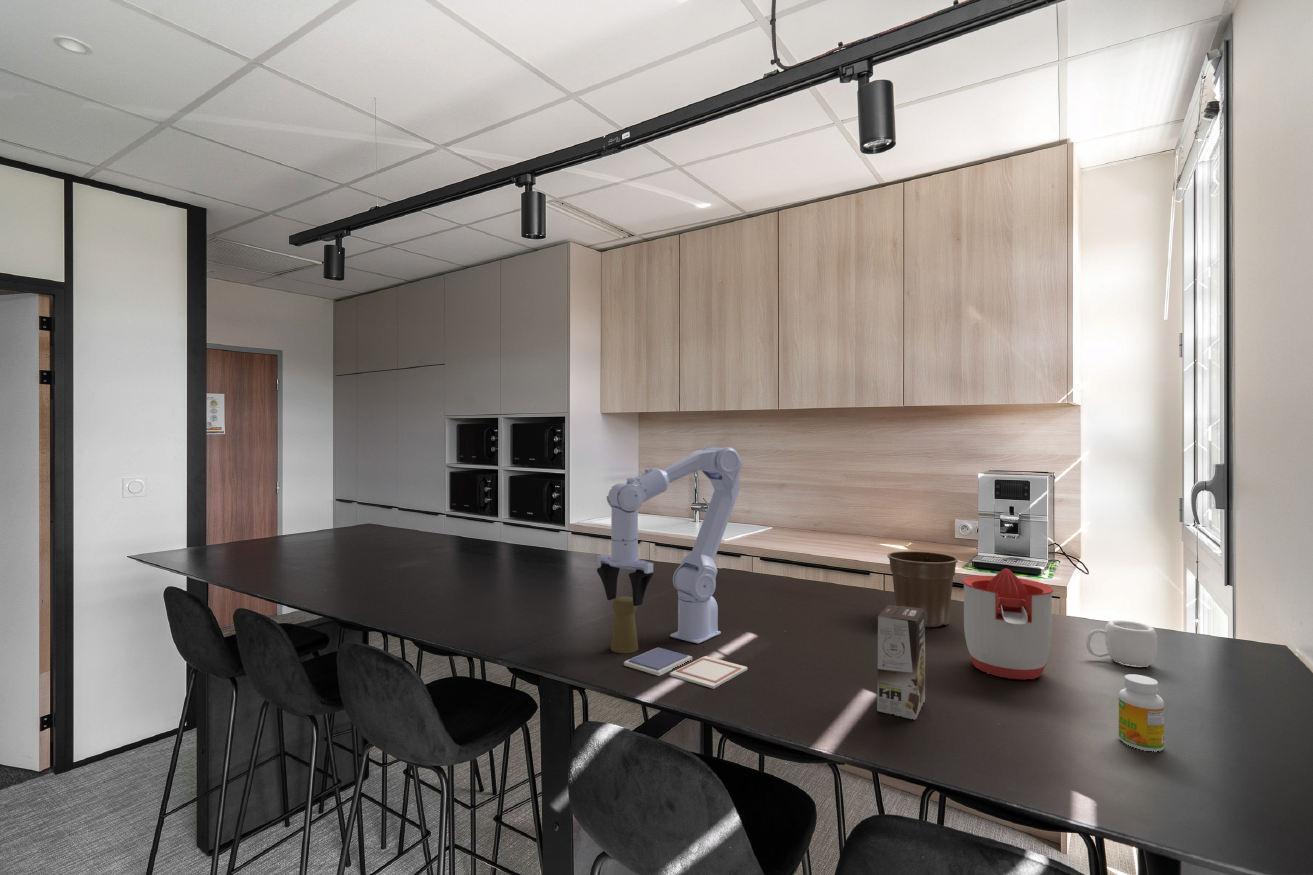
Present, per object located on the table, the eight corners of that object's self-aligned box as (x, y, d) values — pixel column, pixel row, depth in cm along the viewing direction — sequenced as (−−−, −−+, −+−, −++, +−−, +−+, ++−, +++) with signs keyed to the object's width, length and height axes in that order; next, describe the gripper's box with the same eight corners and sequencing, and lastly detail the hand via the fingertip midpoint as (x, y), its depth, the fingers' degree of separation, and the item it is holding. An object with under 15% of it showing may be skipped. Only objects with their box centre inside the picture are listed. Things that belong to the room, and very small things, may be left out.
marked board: (705, 658, 129) (705, 655, 129) (747, 669, 123) (747, 666, 123) (669, 675, 120) (669, 672, 120) (713, 688, 114) (713, 685, 114)
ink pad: (658, 650, 134) (658, 645, 134) (692, 659, 128) (692, 655, 128) (623, 665, 125) (623, 660, 125) (658, 675, 120) (658, 670, 120)
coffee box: (917, 721, 101) (917, 621, 101) (875, 711, 104) (876, 615, 104) (926, 700, 108) (926, 607, 108) (887, 692, 112) (887, 602, 112)
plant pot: (881, 610, 165) (881, 549, 165) (945, 612, 163) (945, 551, 163) (895, 629, 149) (896, 561, 149) (967, 632, 147) (967, 563, 147)
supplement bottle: (1109, 736, 96) (1109, 672, 96) (1142, 734, 96) (1142, 671, 96) (1139, 753, 90) (1139, 686, 90) (1173, 752, 91) (1174, 685, 91)
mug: (1146, 659, 129) (1146, 621, 129) (1165, 673, 121) (1165, 633, 121) (1079, 652, 133) (1079, 615, 133) (1093, 666, 125) (1093, 627, 125)
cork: (634, 654, 132) (635, 601, 132) (607, 651, 133) (607, 600, 133) (641, 644, 138) (641, 594, 138) (614, 642, 139) (615, 593, 139)
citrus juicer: (968, 682, 117) (968, 575, 117) (958, 652, 133) (958, 558, 133) (1065, 694, 111) (1065, 582, 111) (1042, 661, 128) (1042, 563, 127)
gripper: (587, 537, 137) (587, 600, 137) (638, 545, 127) (637, 611, 127) (609, 534, 142) (609, 593, 142) (659, 540, 133) (659, 604, 133)
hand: (624, 601), depth 135 cm, fingers open, 7 cm apart
